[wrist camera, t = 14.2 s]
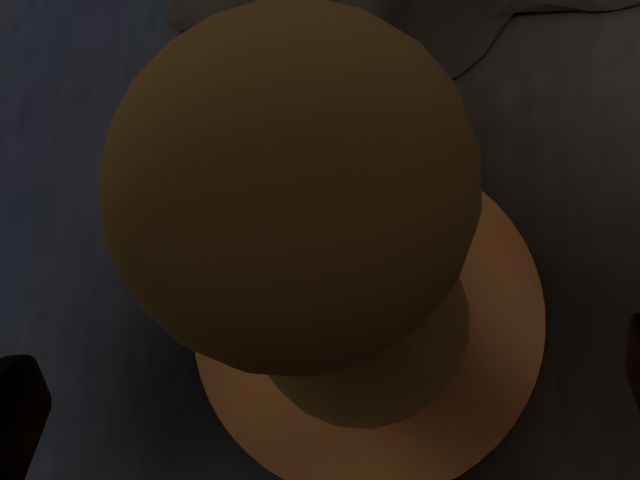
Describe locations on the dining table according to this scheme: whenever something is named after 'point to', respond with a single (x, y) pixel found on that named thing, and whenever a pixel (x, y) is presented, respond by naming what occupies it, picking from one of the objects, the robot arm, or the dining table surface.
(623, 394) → the dining table surface
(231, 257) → the pepper shaker
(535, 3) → the cloth
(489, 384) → the cork coaster
